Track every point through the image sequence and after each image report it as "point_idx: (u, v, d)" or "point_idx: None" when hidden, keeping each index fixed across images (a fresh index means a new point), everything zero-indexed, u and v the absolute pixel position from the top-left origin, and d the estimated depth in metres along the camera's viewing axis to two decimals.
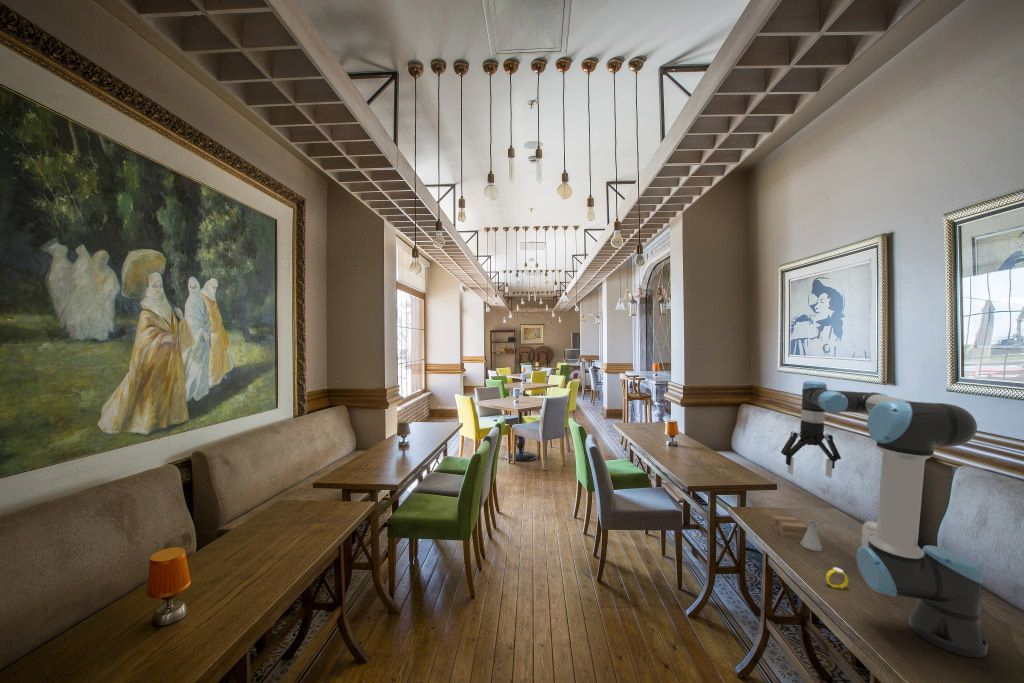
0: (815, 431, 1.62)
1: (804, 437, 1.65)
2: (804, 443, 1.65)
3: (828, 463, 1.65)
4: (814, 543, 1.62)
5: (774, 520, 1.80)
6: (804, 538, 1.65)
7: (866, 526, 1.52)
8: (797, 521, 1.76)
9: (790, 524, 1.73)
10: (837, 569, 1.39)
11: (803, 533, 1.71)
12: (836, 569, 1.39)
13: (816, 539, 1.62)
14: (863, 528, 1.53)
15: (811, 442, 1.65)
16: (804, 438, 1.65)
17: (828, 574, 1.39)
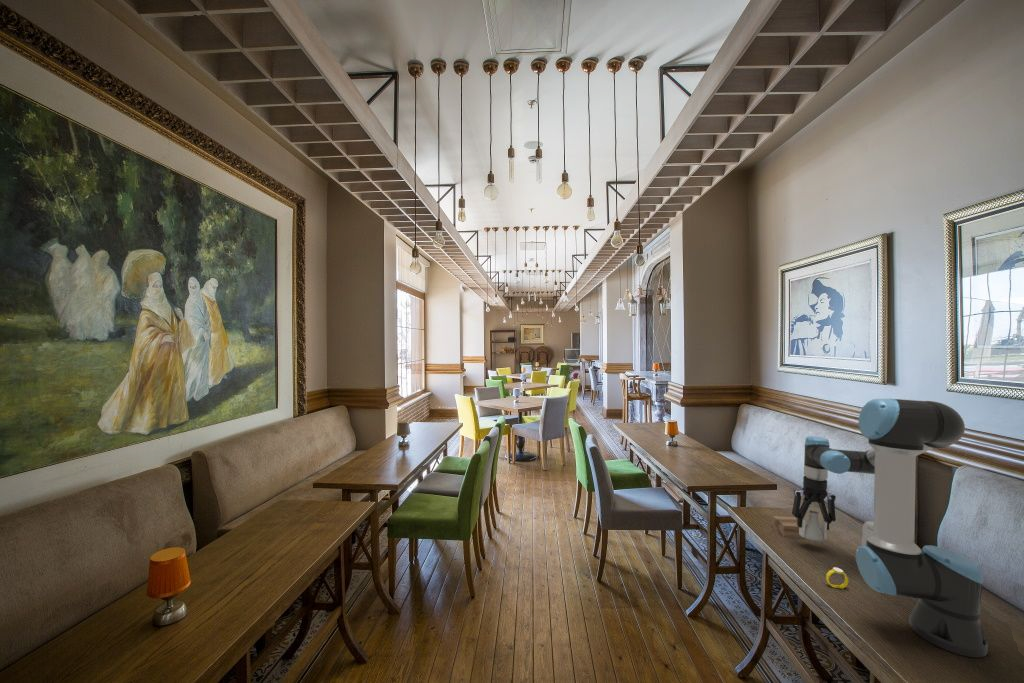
0: (818, 489, 1.60)
1: (807, 494, 1.63)
2: (810, 502, 1.62)
3: (823, 524, 1.63)
4: (816, 534, 1.61)
5: (774, 520, 1.79)
6: (806, 529, 1.64)
7: (866, 526, 1.52)
8: None
9: (791, 524, 1.73)
10: (837, 569, 1.39)
11: None
12: (836, 569, 1.39)
13: (818, 529, 1.62)
14: (863, 528, 1.53)
15: (814, 499, 1.63)
16: (807, 495, 1.63)
17: (828, 574, 1.39)
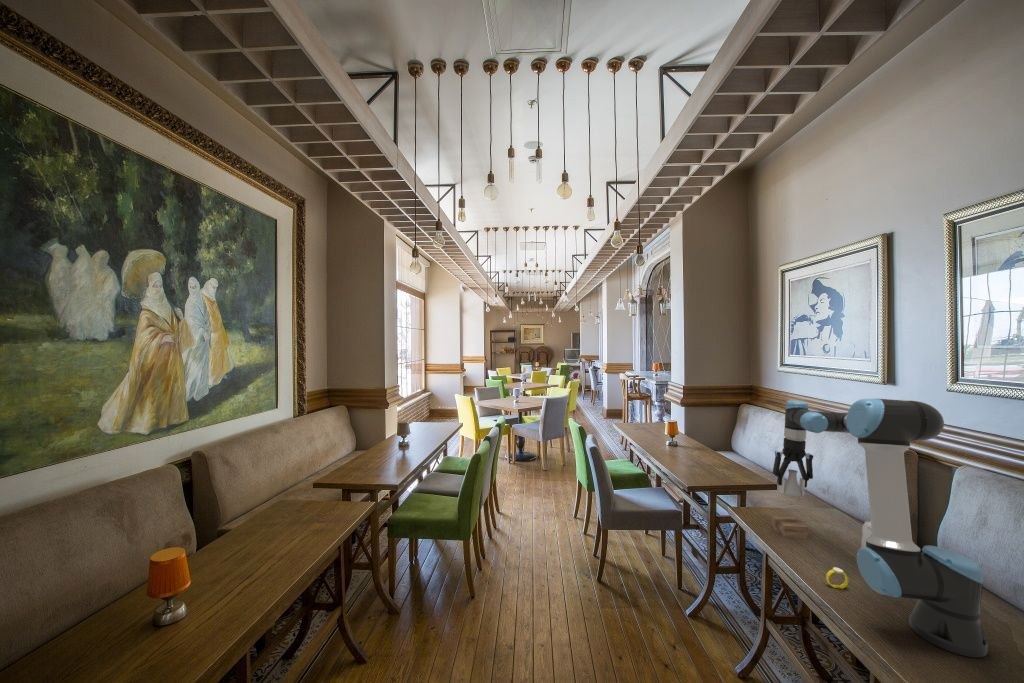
0: (797, 448, 1.71)
1: (787, 454, 1.74)
2: (789, 461, 1.74)
3: (801, 482, 1.75)
4: (794, 490, 1.73)
5: (774, 520, 1.79)
6: (785, 486, 1.76)
7: (866, 526, 1.52)
8: (796, 521, 1.76)
9: (791, 524, 1.73)
10: (837, 569, 1.39)
11: (804, 533, 1.71)
12: (836, 569, 1.39)
13: (796, 486, 1.73)
14: (863, 528, 1.53)
15: (793, 458, 1.74)
16: (787, 455, 1.74)
17: (828, 574, 1.39)
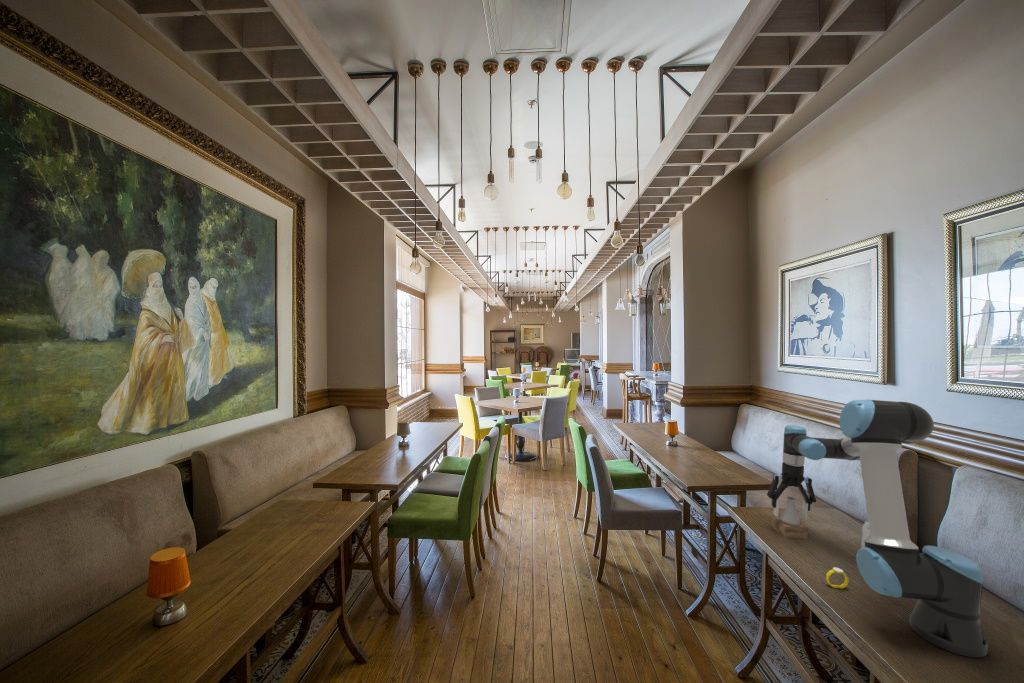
0: (795, 474, 1.72)
1: (785, 479, 1.75)
2: (786, 485, 1.74)
3: (804, 505, 1.75)
4: (792, 518, 1.73)
5: (774, 521, 1.79)
6: (783, 513, 1.76)
7: (866, 526, 1.52)
8: None
9: (791, 525, 1.73)
10: (837, 569, 1.39)
11: (804, 533, 1.71)
12: (836, 569, 1.39)
13: (794, 514, 1.73)
14: (863, 528, 1.53)
15: (791, 483, 1.74)
16: (785, 480, 1.75)
17: (828, 574, 1.39)
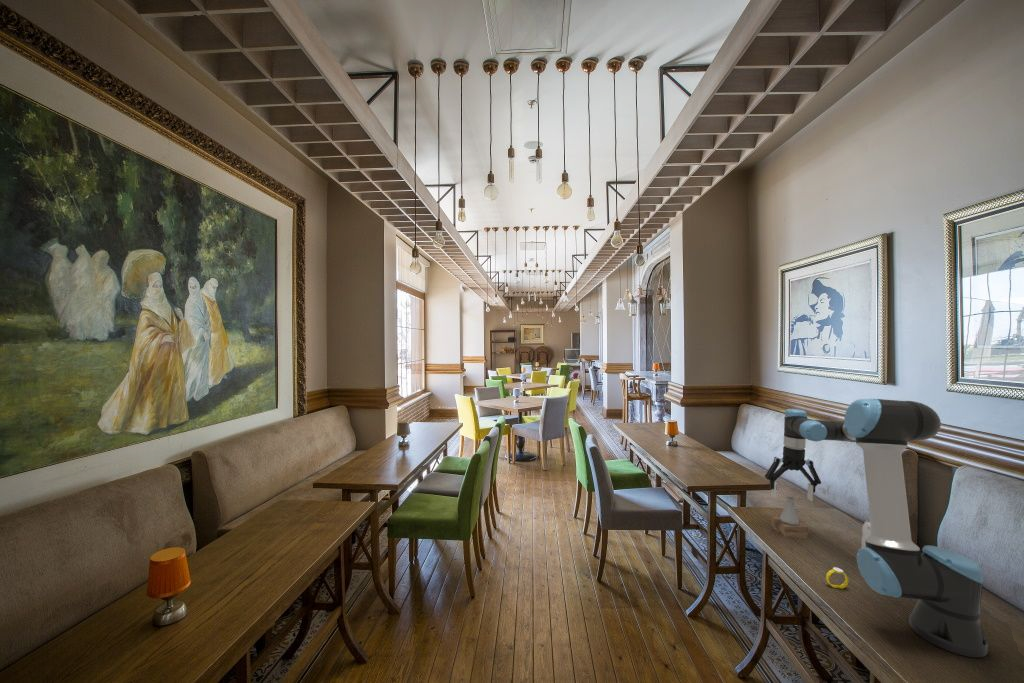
0: (796, 457, 1.71)
1: (786, 462, 1.74)
2: (786, 468, 1.74)
3: (809, 487, 1.74)
4: (792, 518, 1.73)
5: (774, 521, 1.79)
6: (783, 513, 1.76)
7: (866, 526, 1.52)
8: None
9: (791, 525, 1.73)
10: (837, 569, 1.39)
11: (804, 533, 1.72)
12: (836, 569, 1.39)
13: (794, 514, 1.74)
14: (863, 528, 1.53)
15: (792, 467, 1.74)
16: (786, 463, 1.74)
17: (828, 574, 1.39)
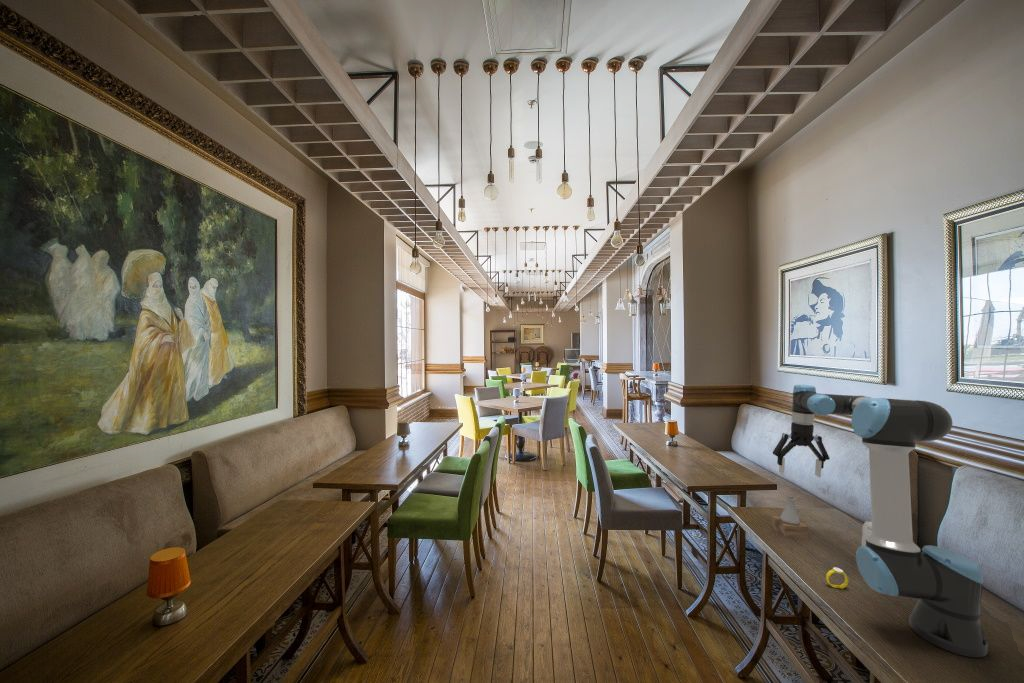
0: (805, 432, 1.69)
1: (795, 438, 1.72)
2: (795, 444, 1.72)
3: (817, 463, 1.72)
4: (792, 517, 1.73)
5: (774, 520, 1.79)
6: (783, 513, 1.76)
7: (866, 526, 1.52)
8: None
9: (791, 524, 1.73)
10: (837, 569, 1.39)
11: (804, 532, 1.72)
12: (836, 569, 1.39)
13: (794, 513, 1.74)
14: (863, 528, 1.53)
15: (801, 443, 1.72)
16: (795, 439, 1.72)
17: (828, 574, 1.39)
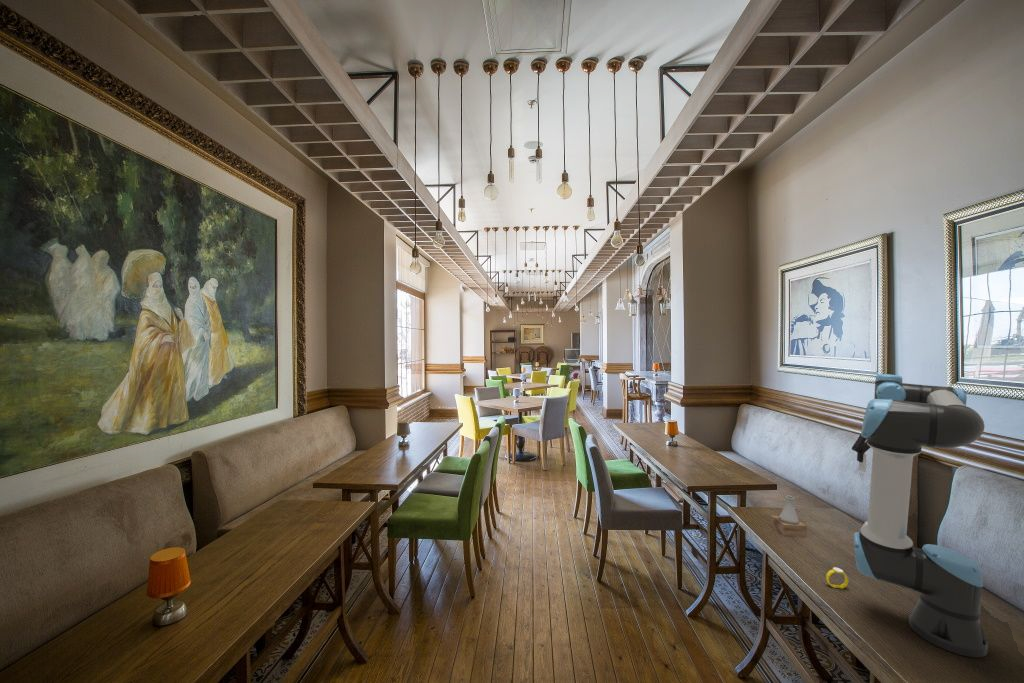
0: None
1: None
2: None
3: None
4: (791, 517, 1.74)
5: (773, 520, 1.80)
6: (782, 512, 1.77)
7: None
8: None
9: (790, 523, 1.74)
10: (837, 569, 1.39)
11: (803, 531, 1.73)
12: (836, 569, 1.39)
13: (793, 513, 1.75)
14: None
15: None
16: None
17: (828, 574, 1.39)
